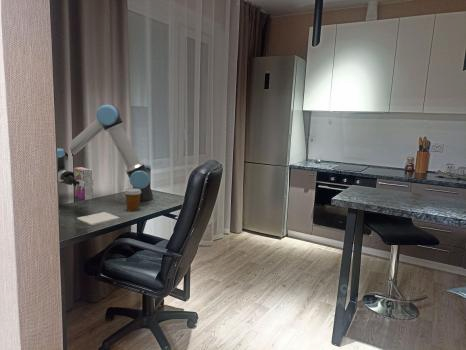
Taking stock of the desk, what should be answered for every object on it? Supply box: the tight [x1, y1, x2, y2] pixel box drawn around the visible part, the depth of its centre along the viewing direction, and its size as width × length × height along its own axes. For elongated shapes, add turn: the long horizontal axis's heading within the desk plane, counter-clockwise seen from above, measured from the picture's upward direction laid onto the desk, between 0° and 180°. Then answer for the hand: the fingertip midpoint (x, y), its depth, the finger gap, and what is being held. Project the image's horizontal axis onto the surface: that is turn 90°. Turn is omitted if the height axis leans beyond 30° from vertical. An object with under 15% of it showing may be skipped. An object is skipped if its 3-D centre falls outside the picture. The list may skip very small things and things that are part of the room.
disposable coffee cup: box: [124, 187, 141, 212], centre depth 196 cm, size 10×10×12 cm
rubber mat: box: [76, 211, 120, 226], centre depth 176 cm, size 16×14×1 cm
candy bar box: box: [73, 166, 94, 201], centre depth 181 cm, size 11×5×16 cm, turn 51°
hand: (88, 183), depth 178 cm, fingers closed on candy bar box, 5 cm apart
